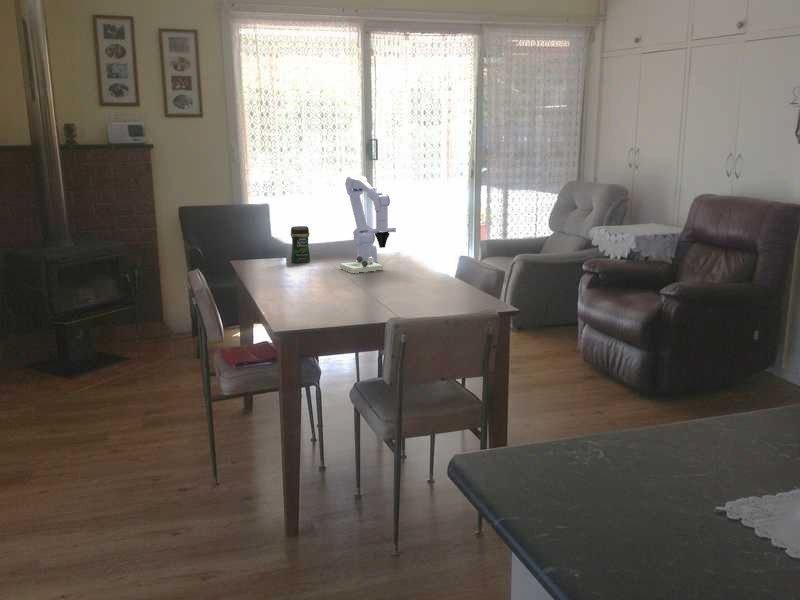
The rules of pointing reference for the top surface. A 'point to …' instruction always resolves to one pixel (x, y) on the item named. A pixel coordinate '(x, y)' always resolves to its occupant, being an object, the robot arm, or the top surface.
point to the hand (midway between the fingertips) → (382, 247)
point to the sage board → (360, 267)
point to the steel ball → (370, 260)
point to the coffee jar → (300, 244)
